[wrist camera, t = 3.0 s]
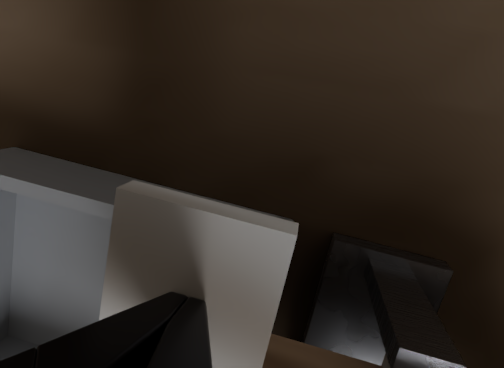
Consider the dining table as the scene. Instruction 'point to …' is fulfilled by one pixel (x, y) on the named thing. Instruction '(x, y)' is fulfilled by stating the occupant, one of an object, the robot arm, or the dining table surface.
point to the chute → (210, 273)
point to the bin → (54, 245)
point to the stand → (381, 306)
